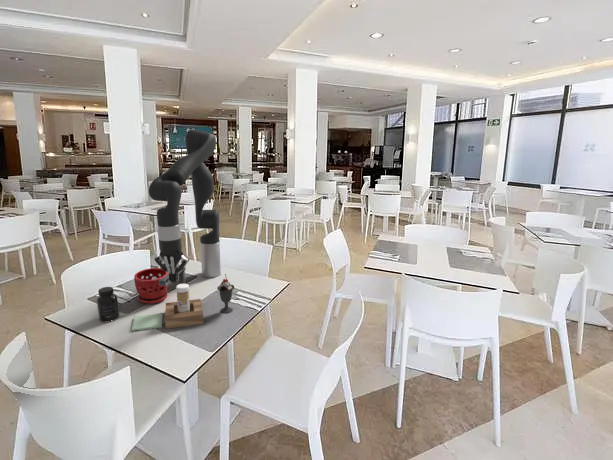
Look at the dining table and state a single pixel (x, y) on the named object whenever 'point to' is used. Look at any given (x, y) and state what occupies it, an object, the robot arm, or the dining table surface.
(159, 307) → the dining table surface
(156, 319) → the green mat
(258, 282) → the dining table surface
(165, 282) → the bar
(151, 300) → the plant pot
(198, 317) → the walnut dock
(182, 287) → the sprinkles bottle
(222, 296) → the sundae
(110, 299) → the supplement bottle
